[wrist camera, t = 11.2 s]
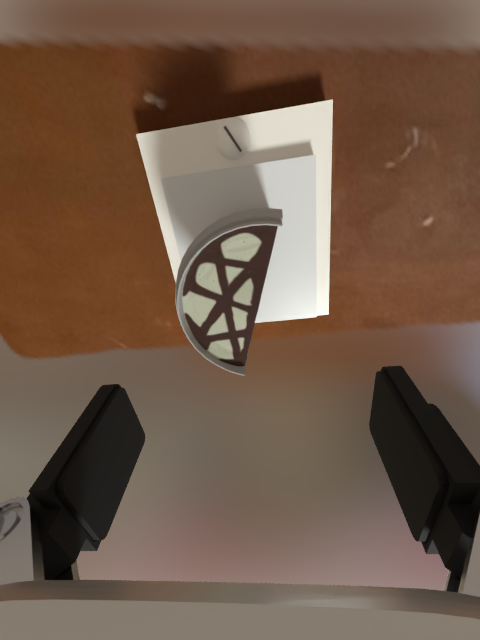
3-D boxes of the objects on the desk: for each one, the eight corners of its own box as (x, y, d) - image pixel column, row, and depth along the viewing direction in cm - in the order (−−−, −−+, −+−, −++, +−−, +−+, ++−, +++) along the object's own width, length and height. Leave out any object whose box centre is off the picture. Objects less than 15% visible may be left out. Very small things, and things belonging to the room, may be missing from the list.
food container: (204, 180, 24) (174, 192, 15) (274, 195, 24) (285, 215, 15) (190, 307, 30) (164, 367, 21) (247, 317, 30) (243, 381, 22)
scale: (326, 104, 24) (336, 96, 21) (323, 304, 33) (331, 319, 30) (145, 136, 26) (130, 133, 22) (191, 317, 35) (185, 333, 32)
